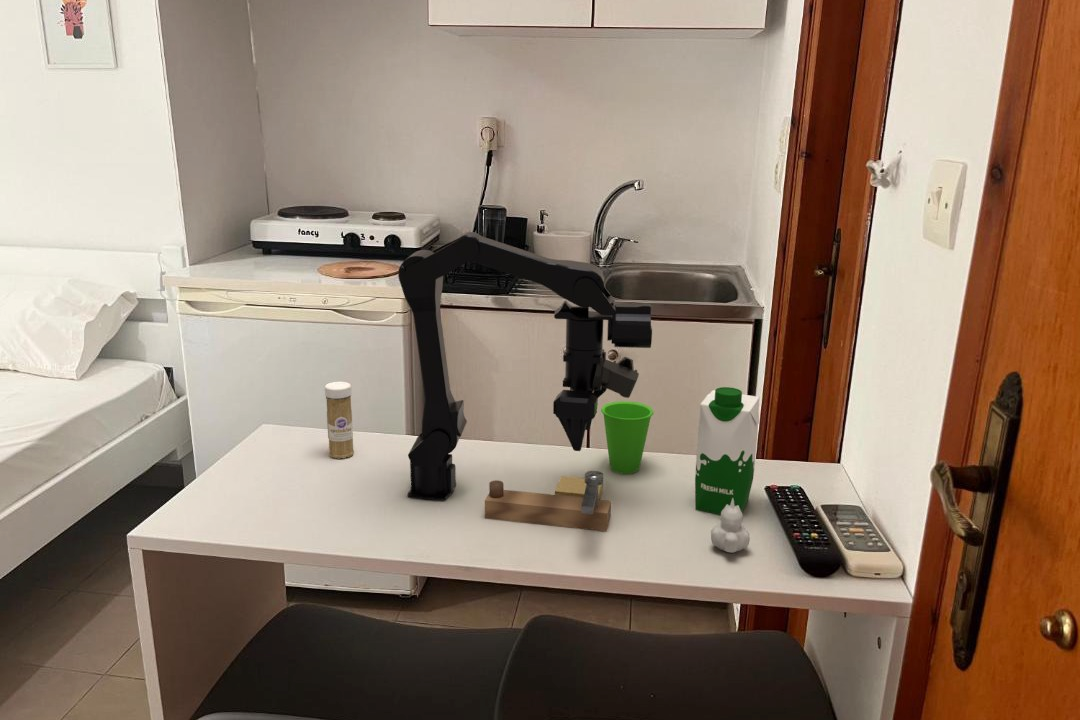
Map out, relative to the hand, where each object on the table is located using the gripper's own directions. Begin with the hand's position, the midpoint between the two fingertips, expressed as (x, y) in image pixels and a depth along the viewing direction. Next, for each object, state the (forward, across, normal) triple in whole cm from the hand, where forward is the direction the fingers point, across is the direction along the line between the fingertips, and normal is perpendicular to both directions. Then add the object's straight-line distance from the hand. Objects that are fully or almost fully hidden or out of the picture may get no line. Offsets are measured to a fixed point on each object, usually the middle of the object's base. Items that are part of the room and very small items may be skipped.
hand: (581, 439), depth 136 cm
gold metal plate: (+10, 0, 0) cm, 11 cm away
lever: (+3, -13, -4) cm, 14 cm away
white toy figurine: (+10, -13, -24) cm, 29 cm away
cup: (+10, +13, -6) cm, 18 cm away
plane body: (+10, -9, +4) cm, 14 cm away
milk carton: (+10, +2, -23) cm, 25 cm away
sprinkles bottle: (+10, +8, +45) cm, 47 cm away
